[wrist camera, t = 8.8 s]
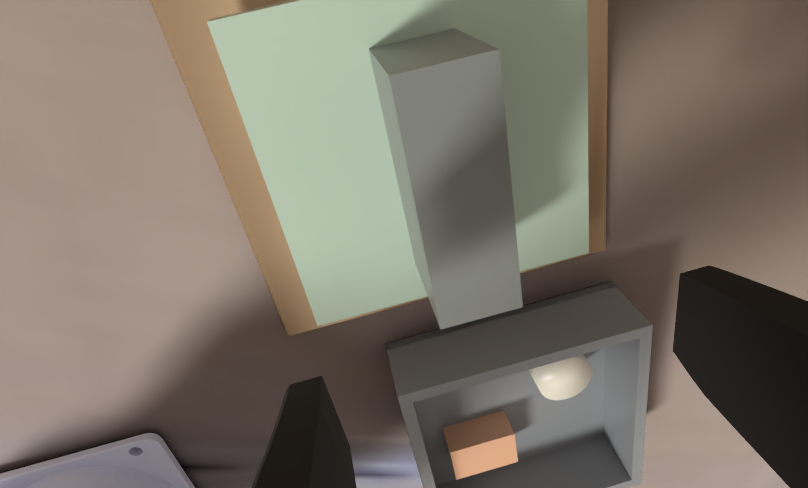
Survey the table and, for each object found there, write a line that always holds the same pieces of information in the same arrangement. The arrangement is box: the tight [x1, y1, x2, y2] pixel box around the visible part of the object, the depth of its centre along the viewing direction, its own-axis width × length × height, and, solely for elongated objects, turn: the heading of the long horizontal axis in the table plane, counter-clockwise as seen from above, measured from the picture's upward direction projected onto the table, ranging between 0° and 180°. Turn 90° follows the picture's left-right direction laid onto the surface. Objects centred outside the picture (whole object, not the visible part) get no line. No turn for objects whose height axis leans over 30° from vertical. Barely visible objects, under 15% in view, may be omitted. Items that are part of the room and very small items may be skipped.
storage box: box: [385, 282, 653, 488], centre depth 23 cm, size 10×10×3 cm
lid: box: [207, 0, 589, 329], centre depth 15 cm, size 10×10×5 cm
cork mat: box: [150, 0, 608, 336], centre depth 17 cm, size 13×13×1 cm
